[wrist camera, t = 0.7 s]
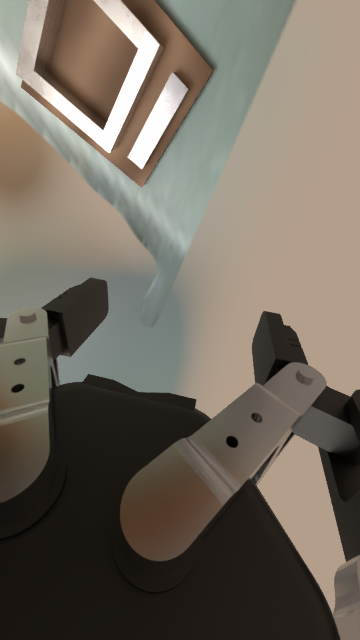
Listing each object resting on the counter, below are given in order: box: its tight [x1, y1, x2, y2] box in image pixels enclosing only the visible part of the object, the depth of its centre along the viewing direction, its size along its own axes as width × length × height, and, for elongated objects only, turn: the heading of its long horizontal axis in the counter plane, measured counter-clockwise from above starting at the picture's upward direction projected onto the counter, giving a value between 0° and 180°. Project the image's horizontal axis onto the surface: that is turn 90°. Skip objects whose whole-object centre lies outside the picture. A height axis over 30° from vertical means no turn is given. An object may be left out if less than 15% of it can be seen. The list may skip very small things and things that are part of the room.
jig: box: [16, 0, 213, 187], centre depth 25 cm, size 16×14×4 cm
